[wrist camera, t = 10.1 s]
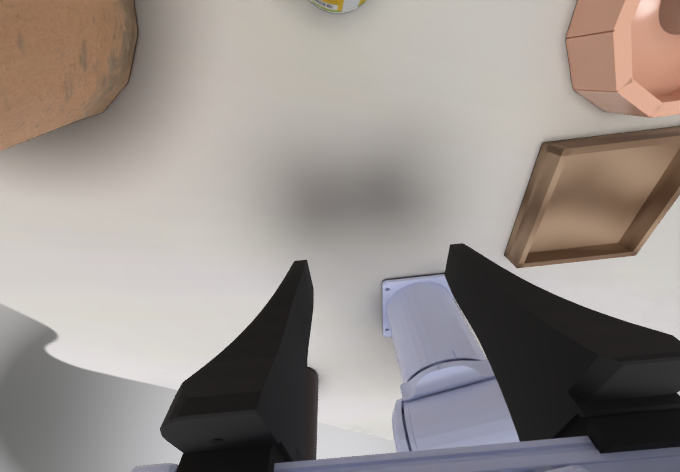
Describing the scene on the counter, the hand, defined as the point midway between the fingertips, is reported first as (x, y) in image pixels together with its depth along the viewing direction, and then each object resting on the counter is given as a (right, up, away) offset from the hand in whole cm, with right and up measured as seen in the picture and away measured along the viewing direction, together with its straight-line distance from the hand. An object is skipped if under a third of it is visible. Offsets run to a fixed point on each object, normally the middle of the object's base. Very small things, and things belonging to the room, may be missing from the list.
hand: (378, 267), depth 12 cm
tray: (+20, +5, +9) cm, 22 cm away
